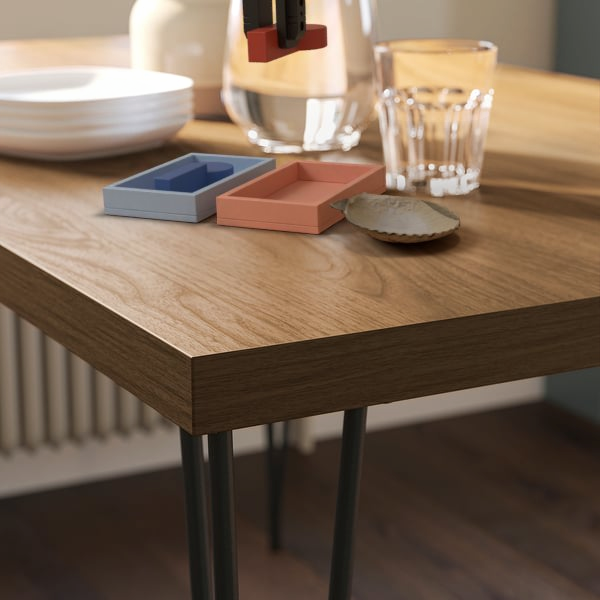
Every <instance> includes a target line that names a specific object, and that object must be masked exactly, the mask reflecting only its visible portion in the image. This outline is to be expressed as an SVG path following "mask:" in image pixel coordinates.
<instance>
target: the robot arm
mask: <svg viewBox="0 0 600 600" xmlns="http://www.w3.org/2000/svg"><path fill="white" fill-rule="evenodd" d="M241 2H242V23H243V25H242V26H243V34H244V36H245V38H246V40H247V32H248V31H252V30H255V29H258V28H262V27H265V26H268V25H272V24H274V11H273V8H274V7H273V6H274V5H273V0H242V1H241ZM274 2H275V23H276V29H277V36H278V46H279V48H280V49H291V48H294V47H297V46H298V45H299V39H301V38H304V36H305V33H306V24H307V16H306V14H307V11H306V9H307V7H306V5H307V4H306V0H274Z"/></svg>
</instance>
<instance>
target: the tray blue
mask: <svg viewBox="0 0 600 600" xmlns="http://www.w3.org/2000/svg"><path fill="white" fill-rule="evenodd" d="M202 162H224V163H229V164H232V165H233V167H234V174H233V175H231V176H229V177H226V178H224V179H222V180H220V181H218V182H215V183H213V184H211V185H209V186H207V187H204V188H202V189H200V190H198V191H196V192H193V193H185V192H173V191H161V190H155V181H154V178H156V177H158V176H161V175H163V174H166V173H168V172H171V171H173V170H175V169H178V168H180V167H183V166H185V165H188V164H190V163H202ZM276 168H277V161H276V158H275V157H264V156H263V157H261V156H246V155H232V154H231V155H230V154H218V153H217V154H215V153H203V152H201V153H200V152H190V153H189V152H188V153H187V154H185V155H183V156H179V157H177V158H175V159H172V160H169V161H166V162H165V163H162V164H159V165H157V166H154V167H151V168H149V169H146V170H143V171H140V172H139V173H137V174H134V175H131V176H129V177H127V178H124V179H121V180H119V181H116V182H113V183H111V184H109V185H106V186H103V187H102V197H103V198H102V199H103V200H102V201H103V213H104V215H107V216H118V217H119V216H120V217H131V218H132V217H133V218H141V219H153V220H161V221H173V222H182V223H183V222H185V223H194V224H197V223H199V222H201V221H203V220H205V219H207V218H209V217H211V216H213V215H216V214H217V205H216V197H218V196H220V195H222V194H224V193H226V192H228V191H230V190H232V189H234V188H236V187H238V186H240V185H242V184H245V183H247V182H249V181H251V180H253V179H255V178H257V177H259V176H261V175H263V174H265V173H268V172H270V171H272V170H274V169H276Z"/></svg>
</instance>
